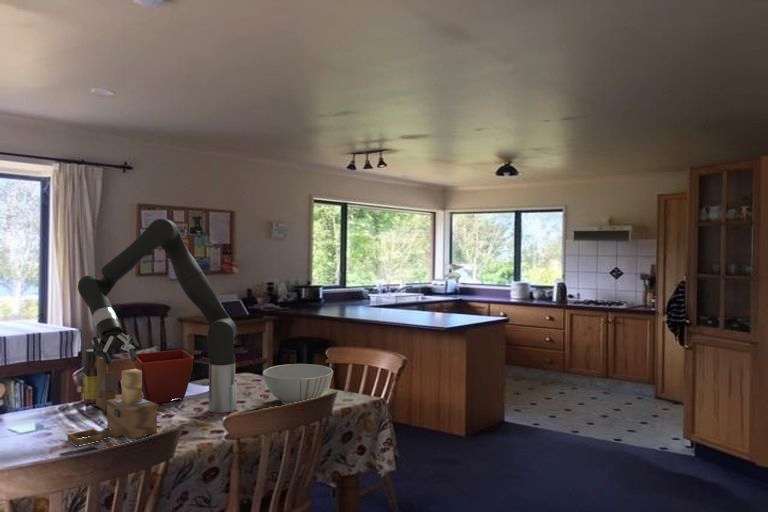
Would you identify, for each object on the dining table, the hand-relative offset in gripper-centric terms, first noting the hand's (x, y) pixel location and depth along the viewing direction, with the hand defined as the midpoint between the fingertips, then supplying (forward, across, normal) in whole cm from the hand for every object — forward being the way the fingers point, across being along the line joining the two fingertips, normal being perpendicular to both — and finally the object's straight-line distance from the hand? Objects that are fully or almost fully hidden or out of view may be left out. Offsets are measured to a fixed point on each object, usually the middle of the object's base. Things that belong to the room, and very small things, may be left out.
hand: (122, 361), depth 203 cm
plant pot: (-1, +26, +31) cm, 41 cm away
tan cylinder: (+13, 0, +4) cm, 14 cm away
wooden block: (-2, +5, +33) cm, 34 cm away
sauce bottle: (-11, +6, +42) cm, 44 cm away
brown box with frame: (+20, -7, +10) cm, 24 cm away
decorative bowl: (+28, +60, +2) cm, 66 cm away
